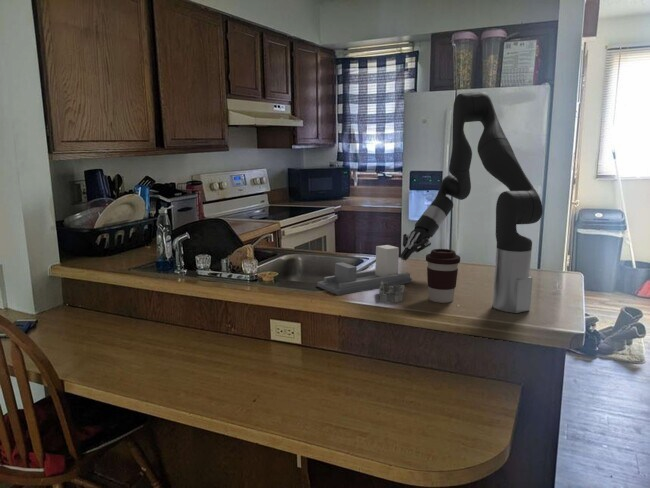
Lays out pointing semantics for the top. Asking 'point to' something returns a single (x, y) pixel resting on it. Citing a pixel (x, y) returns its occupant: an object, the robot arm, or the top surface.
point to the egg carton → (390, 292)
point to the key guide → (362, 282)
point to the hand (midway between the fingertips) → (402, 258)
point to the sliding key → (386, 260)
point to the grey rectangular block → (345, 272)
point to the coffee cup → (442, 274)
